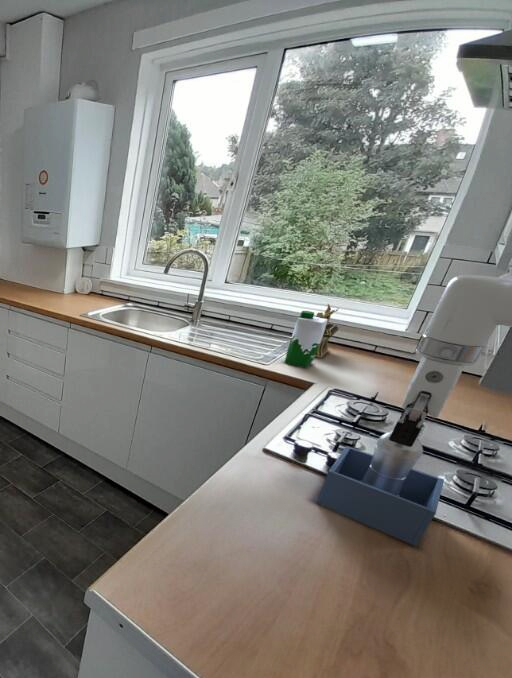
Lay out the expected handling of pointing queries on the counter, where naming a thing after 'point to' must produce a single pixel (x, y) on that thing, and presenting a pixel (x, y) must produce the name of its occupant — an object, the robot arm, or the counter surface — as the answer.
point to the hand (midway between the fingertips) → (404, 434)
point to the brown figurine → (326, 331)
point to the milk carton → (305, 339)
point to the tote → (381, 497)
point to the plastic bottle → (392, 463)
